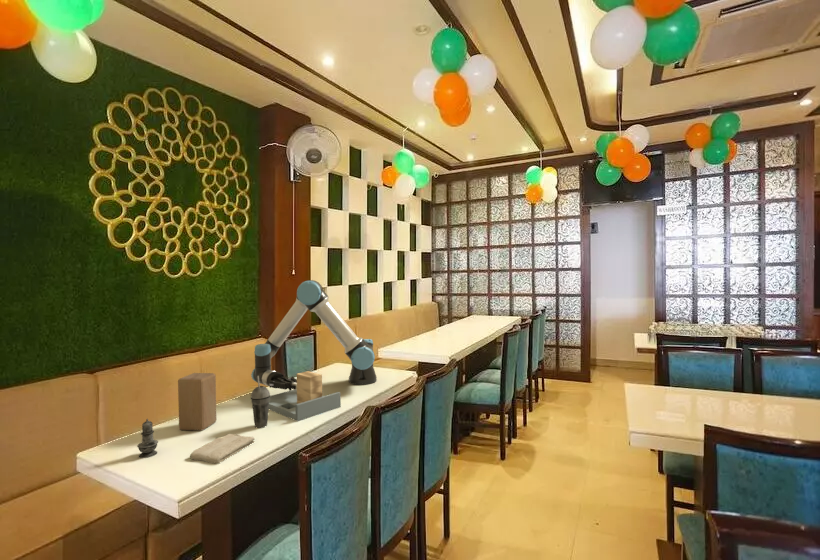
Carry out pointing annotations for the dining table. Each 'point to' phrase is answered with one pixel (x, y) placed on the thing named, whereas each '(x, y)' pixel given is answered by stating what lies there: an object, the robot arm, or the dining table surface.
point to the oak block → (308, 386)
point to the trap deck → (302, 405)
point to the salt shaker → (147, 441)
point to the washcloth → (221, 448)
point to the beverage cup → (260, 405)
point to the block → (197, 401)
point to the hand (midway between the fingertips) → (301, 388)
